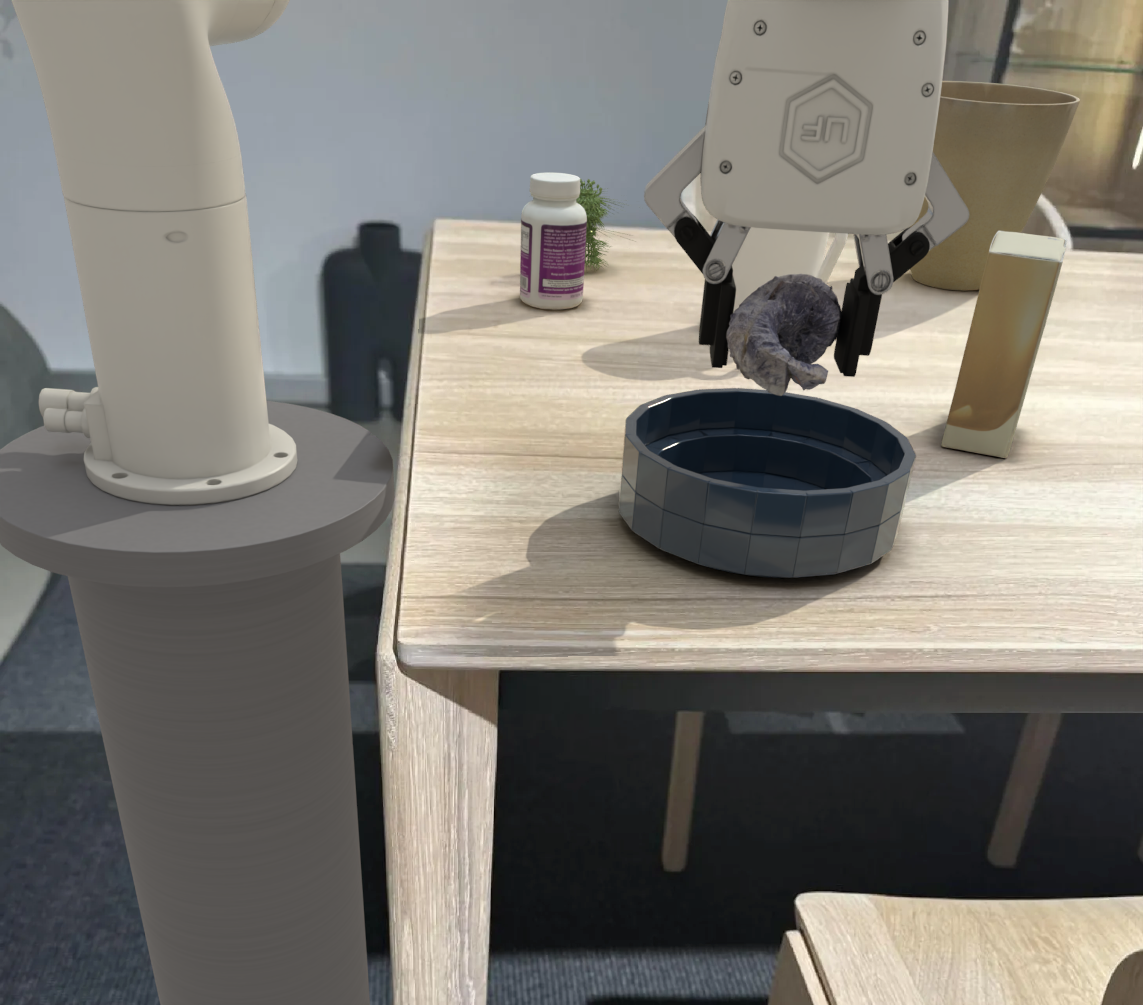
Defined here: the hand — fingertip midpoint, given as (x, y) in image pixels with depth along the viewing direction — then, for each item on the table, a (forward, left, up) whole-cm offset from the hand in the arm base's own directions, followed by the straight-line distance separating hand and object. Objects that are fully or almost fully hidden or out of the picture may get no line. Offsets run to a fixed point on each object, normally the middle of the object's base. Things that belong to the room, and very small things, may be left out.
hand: (781, 360), depth 60 cm
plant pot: (+23, +59, -9) cm, 64 cm away
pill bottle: (-14, +42, -9) cm, 45 cm away
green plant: (-12, +54, -9) cm, 56 cm away
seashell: (0, 0, -1) cm, 1 cm away
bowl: (0, 0, -9) cm, 9 cm away
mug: (+4, +37, -9) cm, 38 cm away
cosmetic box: (+16, +16, -9) cm, 24 cm away
